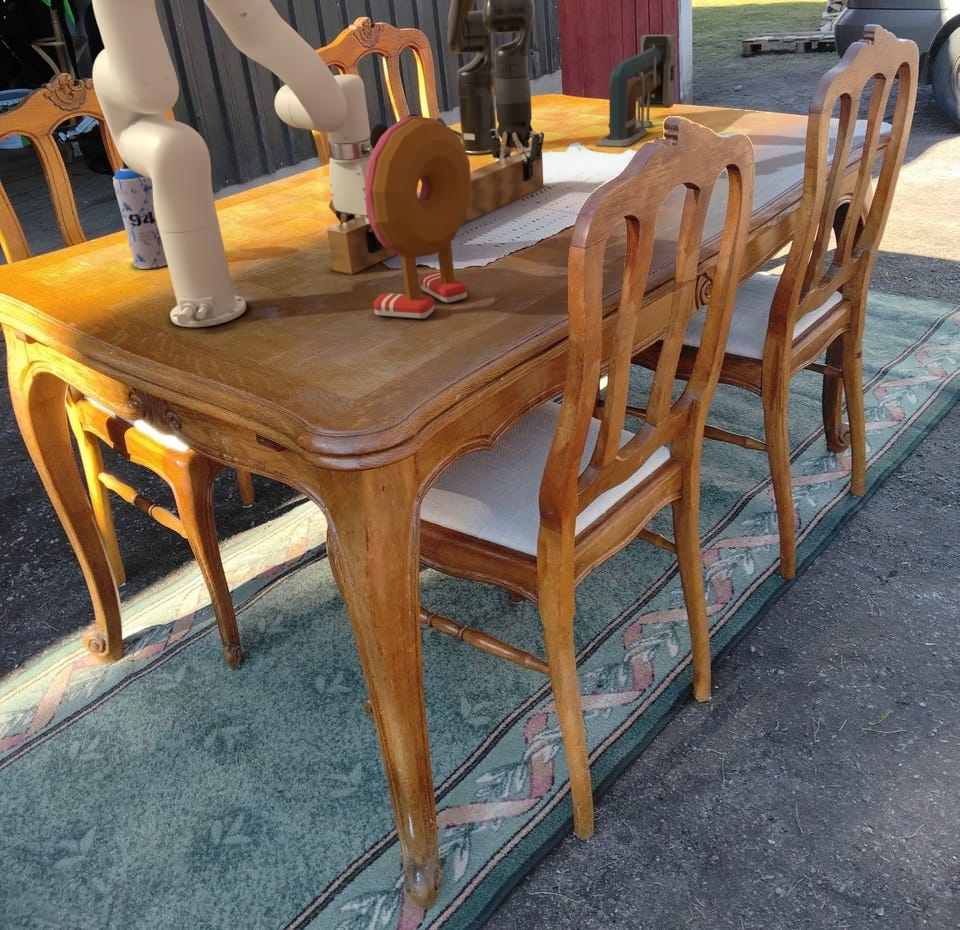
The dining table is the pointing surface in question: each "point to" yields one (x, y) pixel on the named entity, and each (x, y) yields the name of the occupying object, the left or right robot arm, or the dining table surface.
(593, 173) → the dining table surface
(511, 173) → the post
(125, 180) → the aerosol can
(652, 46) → the clamp
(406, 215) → the toy
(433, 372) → the dining table surface
